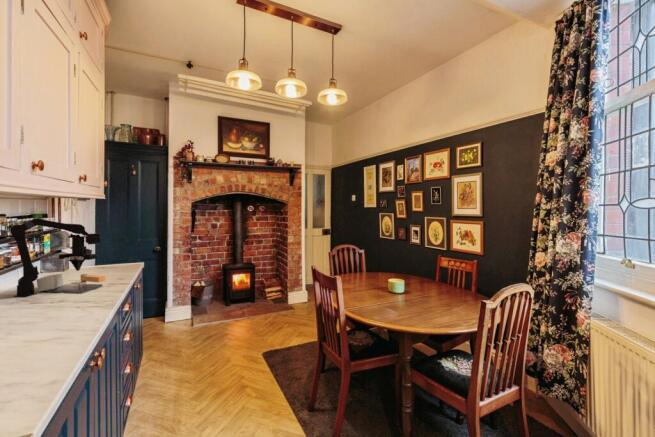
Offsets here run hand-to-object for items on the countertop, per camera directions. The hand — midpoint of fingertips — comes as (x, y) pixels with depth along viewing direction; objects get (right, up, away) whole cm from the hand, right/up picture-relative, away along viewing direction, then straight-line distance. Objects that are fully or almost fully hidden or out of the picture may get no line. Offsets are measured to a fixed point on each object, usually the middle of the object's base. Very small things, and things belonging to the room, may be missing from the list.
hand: (77, 270), depth 179 cm
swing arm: (+6, -7, +3) cm, 9 cm away
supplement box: (-16, -6, +3) cm, 17 cm away
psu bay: (0, -11, -1) cm, 11 cm away
